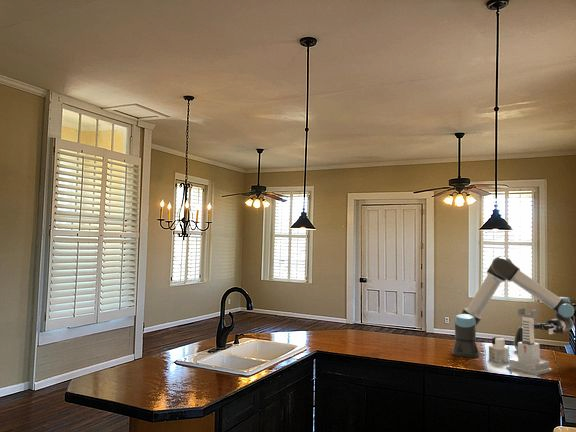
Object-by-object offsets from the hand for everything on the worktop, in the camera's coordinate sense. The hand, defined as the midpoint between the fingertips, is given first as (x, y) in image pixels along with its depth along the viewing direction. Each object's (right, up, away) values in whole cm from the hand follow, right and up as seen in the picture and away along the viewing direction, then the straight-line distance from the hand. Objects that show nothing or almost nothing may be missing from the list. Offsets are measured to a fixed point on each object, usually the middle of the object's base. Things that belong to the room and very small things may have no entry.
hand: (536, 329), depth 249 cm
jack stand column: (-7, -19, -5) cm, 20 cm away
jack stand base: (-7, -20, -5) cm, 22 cm away
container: (-14, -21, +13) cm, 29 cm away
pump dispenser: (+12, -23, +36) cm, 45 cm away
